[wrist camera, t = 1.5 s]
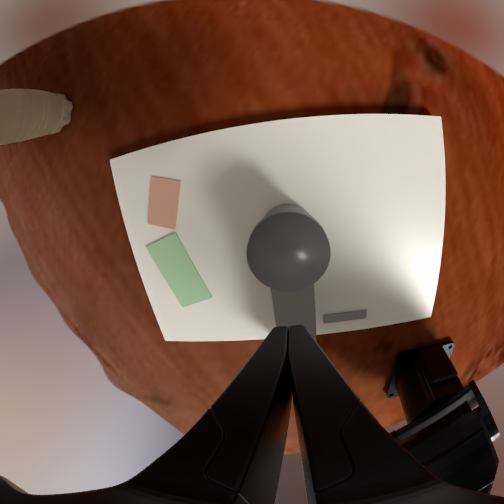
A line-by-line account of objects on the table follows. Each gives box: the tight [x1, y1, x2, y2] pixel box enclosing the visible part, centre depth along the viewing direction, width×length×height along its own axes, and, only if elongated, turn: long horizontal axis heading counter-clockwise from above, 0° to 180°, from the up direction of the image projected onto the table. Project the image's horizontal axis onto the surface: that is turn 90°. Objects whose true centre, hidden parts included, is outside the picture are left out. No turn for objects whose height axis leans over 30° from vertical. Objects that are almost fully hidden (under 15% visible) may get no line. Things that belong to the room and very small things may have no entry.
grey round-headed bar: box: [246, 204, 331, 342], centre depth 16 cm, size 11×4×4 cm, turn 9°
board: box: [110, 114, 445, 341], centre depth 17 cm, size 15×22×1 cm
